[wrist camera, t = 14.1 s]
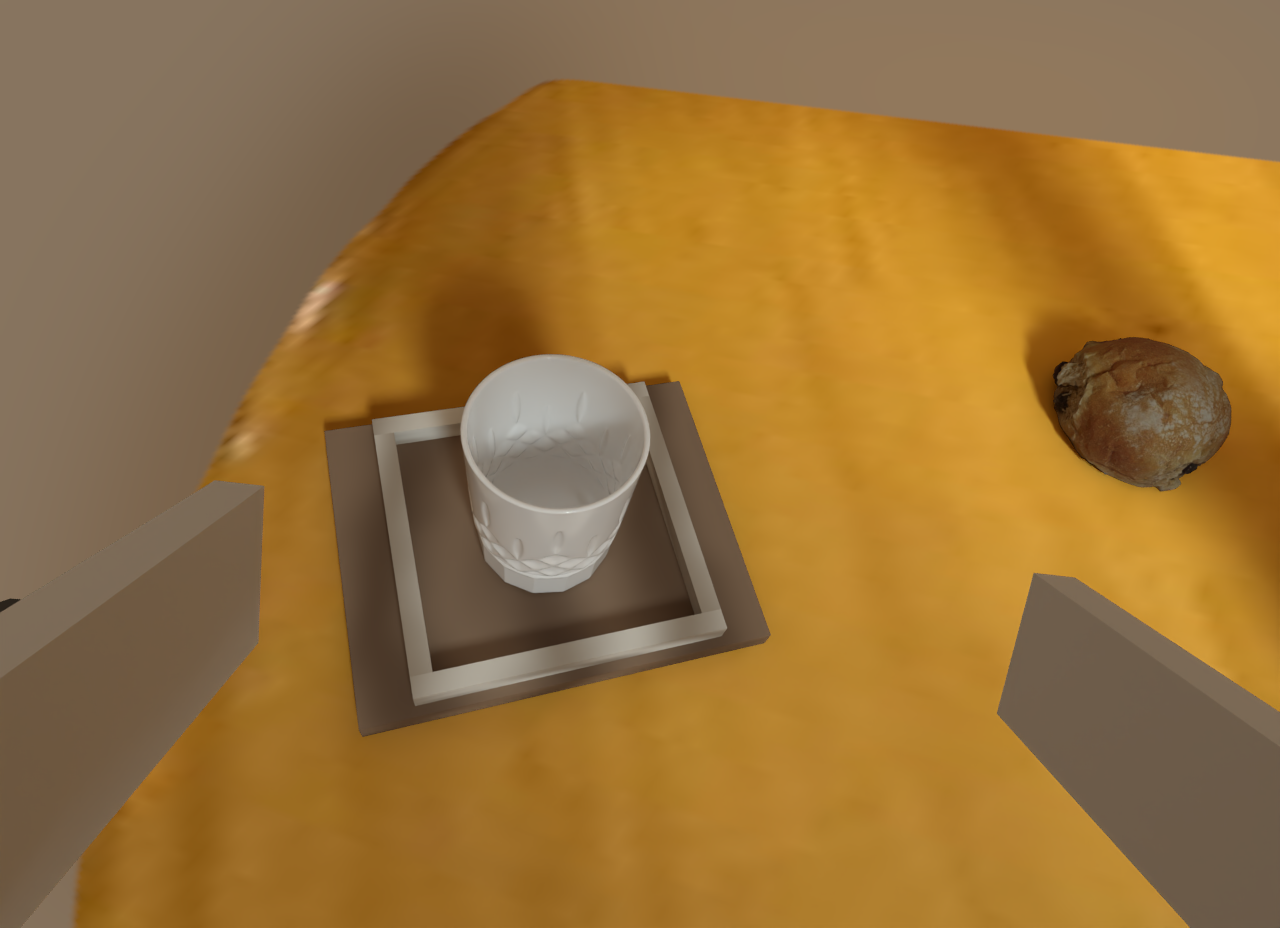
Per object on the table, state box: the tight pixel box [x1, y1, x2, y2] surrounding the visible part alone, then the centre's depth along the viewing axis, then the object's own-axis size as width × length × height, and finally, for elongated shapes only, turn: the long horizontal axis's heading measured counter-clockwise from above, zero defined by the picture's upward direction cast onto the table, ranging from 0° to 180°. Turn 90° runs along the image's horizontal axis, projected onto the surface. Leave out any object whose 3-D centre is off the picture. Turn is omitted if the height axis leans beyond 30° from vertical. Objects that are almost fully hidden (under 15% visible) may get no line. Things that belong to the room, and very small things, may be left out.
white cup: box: [460, 354, 650, 593], centre depth 40 cm, size 8×8×10 cm
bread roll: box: [1053, 337, 1231, 491], centre depth 53 cm, size 10×10×8 cm
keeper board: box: [325, 381, 770, 737], centre depth 44 cm, size 20×16×2 cm
